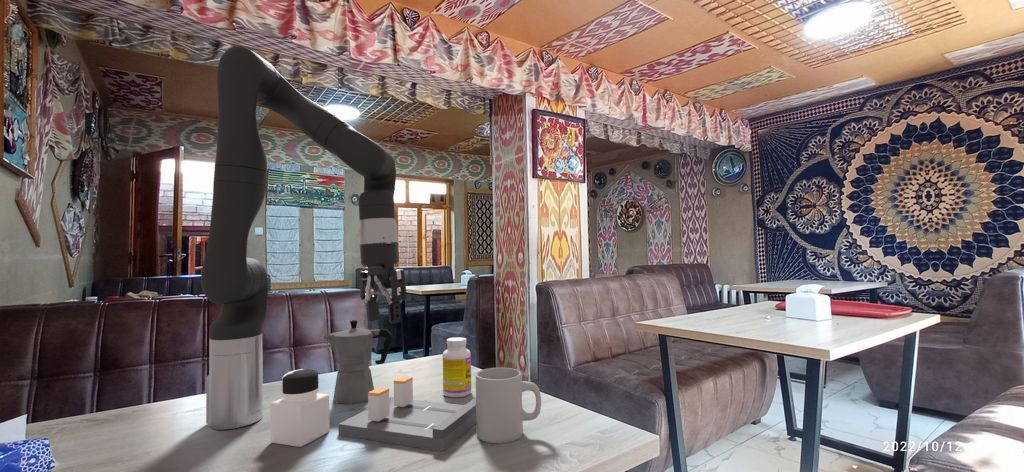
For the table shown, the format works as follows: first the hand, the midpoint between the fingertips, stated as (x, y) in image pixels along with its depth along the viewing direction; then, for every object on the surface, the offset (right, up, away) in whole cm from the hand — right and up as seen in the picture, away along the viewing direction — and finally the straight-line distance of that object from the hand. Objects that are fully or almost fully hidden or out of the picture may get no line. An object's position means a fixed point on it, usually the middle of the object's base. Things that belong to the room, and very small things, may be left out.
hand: (384, 321), depth 90 cm
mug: (+25, -19, -9) cm, 33 cm away
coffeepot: (-10, -21, +14) cm, 27 cm away
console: (+7, -19, -4) cm, 21 cm away
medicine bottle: (-13, -20, -8) cm, 25 cm away
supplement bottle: (+13, -20, +15) cm, 28 cm away
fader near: (+1, -17, -6) cm, 18 cm away
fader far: (+4, -17, +1) cm, 18 cm away
